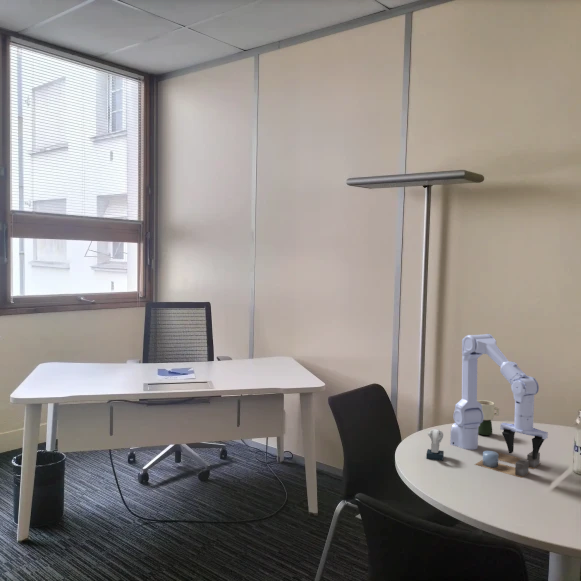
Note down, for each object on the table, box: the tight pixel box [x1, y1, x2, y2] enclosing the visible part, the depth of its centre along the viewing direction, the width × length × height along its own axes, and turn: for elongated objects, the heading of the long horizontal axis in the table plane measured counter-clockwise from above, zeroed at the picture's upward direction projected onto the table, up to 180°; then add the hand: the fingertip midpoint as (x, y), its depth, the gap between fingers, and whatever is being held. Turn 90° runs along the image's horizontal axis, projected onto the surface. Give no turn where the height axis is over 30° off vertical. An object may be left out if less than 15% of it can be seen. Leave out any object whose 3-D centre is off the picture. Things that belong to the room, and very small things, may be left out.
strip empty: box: [496, 450, 542, 470], centre depth 193 cm, size 16×7×5 cm, turn 47°
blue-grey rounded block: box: [482, 450, 499, 468], centre depth 189 cm, size 5×5×4 cm
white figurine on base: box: [425, 428, 445, 462], centre depth 195 cm, size 6×8×11 cm
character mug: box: [477, 399, 500, 436], centre depth 224 cm, size 11×7×13 cm, turn 79°
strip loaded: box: [474, 458, 530, 479], centre depth 186 cm, size 16×7×5 cm, turn 47°
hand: (522, 455), depth 181 cm, fingers open, 7 cm apart
